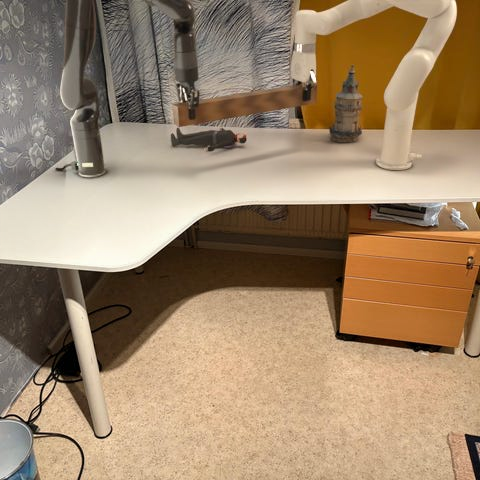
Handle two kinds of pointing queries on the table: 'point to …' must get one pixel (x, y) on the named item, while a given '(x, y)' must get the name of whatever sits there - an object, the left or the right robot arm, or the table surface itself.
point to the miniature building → (347, 111)
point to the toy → (208, 139)
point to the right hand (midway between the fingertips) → (302, 98)
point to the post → (243, 104)
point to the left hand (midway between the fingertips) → (189, 117)
